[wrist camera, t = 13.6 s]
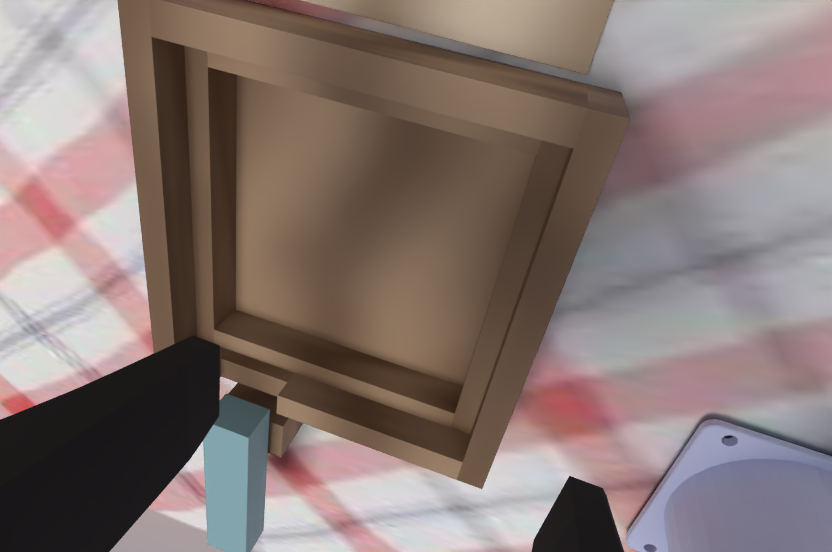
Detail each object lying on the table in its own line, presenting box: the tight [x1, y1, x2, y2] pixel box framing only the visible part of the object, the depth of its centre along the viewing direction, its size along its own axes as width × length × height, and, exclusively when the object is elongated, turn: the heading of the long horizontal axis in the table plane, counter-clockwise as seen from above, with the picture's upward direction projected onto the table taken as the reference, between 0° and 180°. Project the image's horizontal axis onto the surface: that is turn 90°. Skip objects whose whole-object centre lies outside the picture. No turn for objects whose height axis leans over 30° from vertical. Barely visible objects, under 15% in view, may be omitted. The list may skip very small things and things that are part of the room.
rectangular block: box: [203, 394, 270, 552], centre depth 23 cm, size 2×8×2 cm, turn 170°
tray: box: [118, 0, 630, 489], centre depth 19 cm, size 14×18×4 cm
